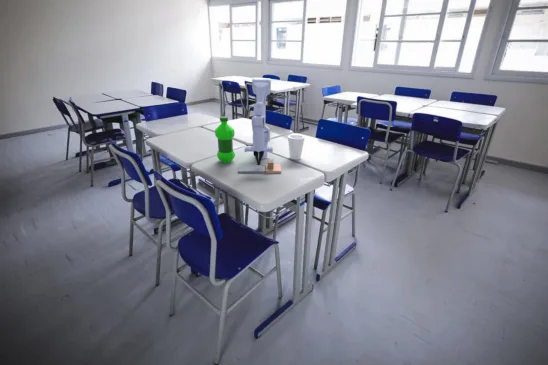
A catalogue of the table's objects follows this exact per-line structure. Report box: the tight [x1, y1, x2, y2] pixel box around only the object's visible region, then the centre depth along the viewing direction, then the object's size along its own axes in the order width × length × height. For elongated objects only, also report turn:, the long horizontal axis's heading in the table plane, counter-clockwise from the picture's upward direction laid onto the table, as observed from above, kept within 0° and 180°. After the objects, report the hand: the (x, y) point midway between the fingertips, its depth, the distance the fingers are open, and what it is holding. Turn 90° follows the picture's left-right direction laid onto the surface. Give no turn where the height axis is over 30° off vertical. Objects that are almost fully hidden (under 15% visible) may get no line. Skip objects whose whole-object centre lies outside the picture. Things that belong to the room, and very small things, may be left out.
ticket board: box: [237, 163, 266, 174], centre depth 150 cm, size 10×14×1 cm
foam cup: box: [287, 133, 305, 160], centre depth 164 cm, size 10×9×13 cm
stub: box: [265, 158, 282, 174], centre depth 149 cm, size 10×8×5 cm
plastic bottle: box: [214, 116, 236, 164], centre depth 155 cm, size 10×10×25 cm
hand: (258, 164), depth 149 cm, fingers closed
